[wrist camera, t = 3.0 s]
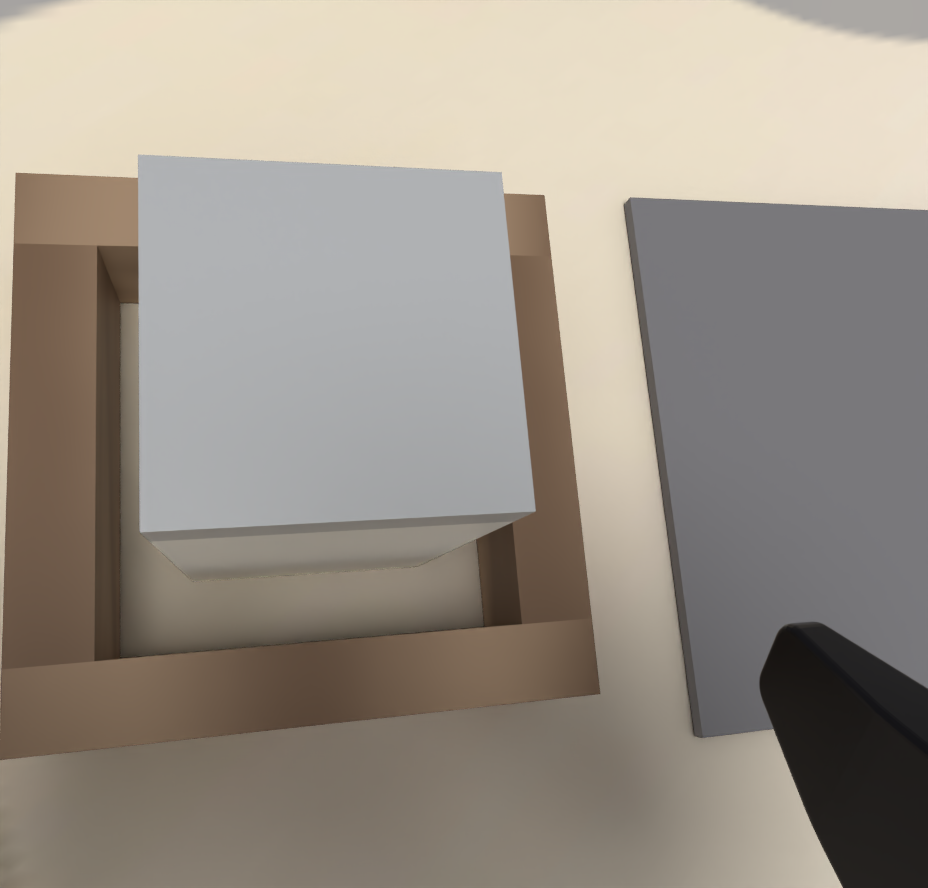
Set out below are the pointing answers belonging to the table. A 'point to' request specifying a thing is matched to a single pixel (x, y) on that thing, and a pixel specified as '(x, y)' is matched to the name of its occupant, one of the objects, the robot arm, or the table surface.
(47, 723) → the frame
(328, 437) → the grey parts box
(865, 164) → the table surface
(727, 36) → the table surface
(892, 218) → the rubber mat
